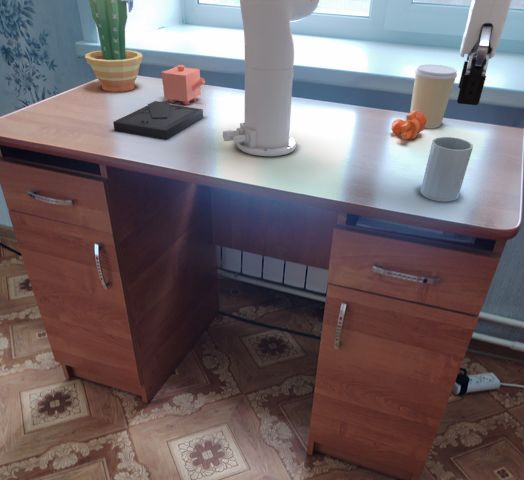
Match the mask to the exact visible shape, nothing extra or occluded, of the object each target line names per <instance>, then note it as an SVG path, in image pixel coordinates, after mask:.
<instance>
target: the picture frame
mask: <svg viewBox="0 0 524 480" xmlns="http://www.w3.org/2000/svg"><path fill="white" fill-rule="evenodd" d="M202 119H204V109H203V108H197V107H191V106H183V105H177V104H172V103H171V102H166V101H160V100H159V101H158V100H154V101H152V102H149V103H147V105H145V106H143V107H141V108H139V109H137V110H135V111H133V112H131V113H128V114H127V115H126V114H125V116H123V117H120V118H119V119H115V120H114V121H113V122H112V123H113V129H114V131H115V132H120V133H121V132H122V133H127V134H131V135H137V136H144V137H150V138H154V139H155V138H156V139H161V140H162V139H163V140H168V139H170V138H172V137H174V136H175V135H176V134H178V133H180V132H181V131H184V130H185V129H187V128H189V127H190V126H192V125H194V124H195V123H197V122H199V121H201V120H202Z"/></svg>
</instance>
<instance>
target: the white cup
mask: <svg viewBox="0 0 524 480" xmlns="http://www.w3.org/2000/svg"><path fill="white" fill-rule="evenodd" d="M473 150H474V144H473V143H471V142H470V141H468V140H466V139H463V138H458V137H451V136H440V137H436V138H434V139H432V142H431V145H430V150H429V153H428V158H427V162H426V166H425V171H424V174H423V178H422V182H421V187H420V194H421V195H422V196H423V197H424V198H427V199H429V200H432V201H437V202H443V203H444V202H447V203H448V202H454V201H456V200H457V199H458V198H459V195H460V192H461V189H462V186H463V183H464V179H465V177H466V176H465V175H466V172H467V170H468V165H469V162H470V158H471V155H472V152H473Z"/></svg>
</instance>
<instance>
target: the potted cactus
mask: <svg viewBox="0 0 524 480" xmlns="http://www.w3.org/2000/svg"><path fill="white" fill-rule="evenodd" d="M88 2H89V6H90V7H89V8H90V12H91V17H92V19H93V21H94V23H95V25H96V28H97V33H98V38H99V39H98V40H99V44H100V50H93V51H90V52H87V53H85V54H84V58H85V61H86V63H87V65H89V66H90V67H91V70H92V72H93V73H94V76H95V77H96V79H97V80H98V81H99V82H100V84H101V85H102V86H101V87H102V88H101V89H102V90H103V91H106V92H113V93H116V92H117V93H118V92H119V93H120V92H128V91H132V90H134V89H135V88H136V87H135V82H136V80H137V77H138V76H139V72H140V65H141V64H142V63H143V53H142V52H139V51H136V50H131V49H129V50H128V49H126V25H127V21H128V13H131V12H132V11H133V8H134V0H88ZM127 4H128V5H127ZM127 6H128V7H127Z"/></svg>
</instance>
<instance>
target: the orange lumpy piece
mask: <svg viewBox="0 0 524 480" xmlns="http://www.w3.org/2000/svg"><path fill="white" fill-rule="evenodd" d="M426 122H427V118H426V116H425V115H424V114H423V113H421V112H417V110H415V111H412V112H410V111H409V113H408V114H407V115H406V121H405V120H404V119H400V118H399V119H395V120H393V122H392V123H391V127H390V128H391V131H392V133H393V134H394V135H395V136H401V138H402V140H414V139H415V138H416V137H418V136H419V134H420V133H421V132H423V131H424V130H425V129H426V128H425V125H426Z"/></svg>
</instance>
